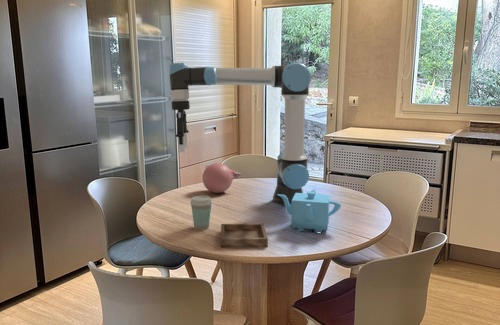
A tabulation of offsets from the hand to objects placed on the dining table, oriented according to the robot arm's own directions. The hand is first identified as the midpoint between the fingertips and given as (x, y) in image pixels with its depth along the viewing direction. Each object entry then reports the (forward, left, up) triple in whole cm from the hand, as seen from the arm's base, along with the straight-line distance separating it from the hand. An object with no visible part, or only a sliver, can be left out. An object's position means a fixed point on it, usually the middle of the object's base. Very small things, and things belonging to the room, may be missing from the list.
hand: (183, 149), depth 189 cm
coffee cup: (-9, +22, -28) cm, 36 cm away
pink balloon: (-17, -31, -28) cm, 45 cm away
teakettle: (-51, +24, -28) cm, 62 cm away
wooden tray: (-25, +35, -27) cm, 51 cm away
